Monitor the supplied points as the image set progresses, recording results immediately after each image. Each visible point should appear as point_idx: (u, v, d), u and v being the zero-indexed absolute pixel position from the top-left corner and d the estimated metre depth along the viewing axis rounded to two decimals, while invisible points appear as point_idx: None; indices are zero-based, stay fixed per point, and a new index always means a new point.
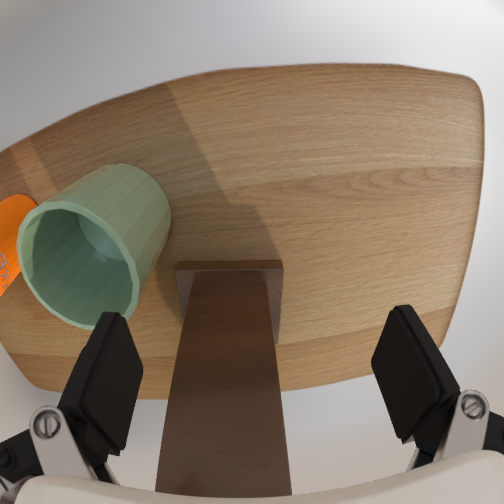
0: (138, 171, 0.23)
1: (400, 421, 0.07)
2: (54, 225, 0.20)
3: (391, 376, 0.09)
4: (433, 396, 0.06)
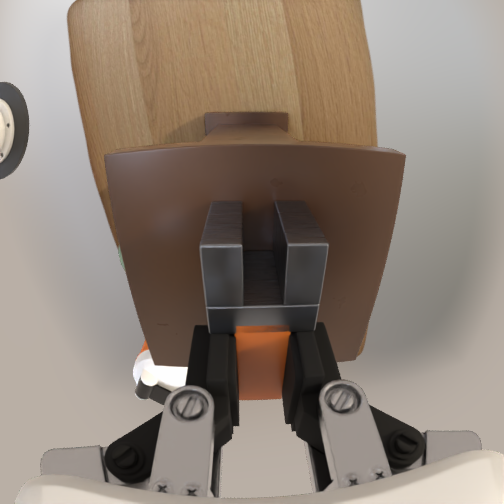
0: None
1: (285, 406, 0.08)
2: None
3: None
4: (294, 379, 0.07)
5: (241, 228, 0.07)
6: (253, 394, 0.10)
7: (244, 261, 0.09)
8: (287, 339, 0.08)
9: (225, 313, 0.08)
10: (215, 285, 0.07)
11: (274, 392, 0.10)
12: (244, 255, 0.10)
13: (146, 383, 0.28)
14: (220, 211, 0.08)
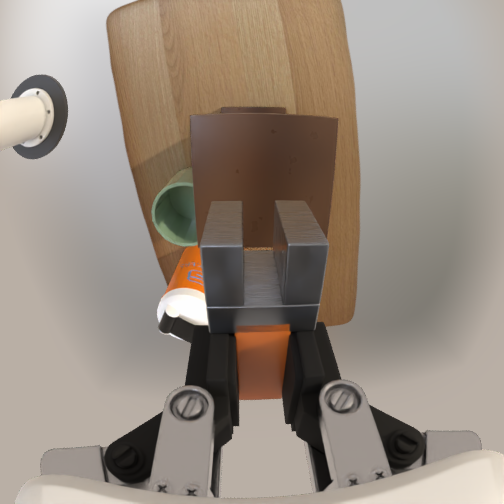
0: None
1: (285, 406, 0.08)
2: (183, 228, 0.48)
3: None
4: (294, 379, 0.07)
5: (241, 228, 0.07)
6: (254, 394, 0.10)
7: (244, 261, 0.09)
8: (287, 339, 0.08)
9: (225, 313, 0.08)
10: (215, 285, 0.07)
11: (275, 392, 0.10)
12: (244, 255, 0.10)
13: (170, 314, 0.38)
14: (220, 211, 0.08)
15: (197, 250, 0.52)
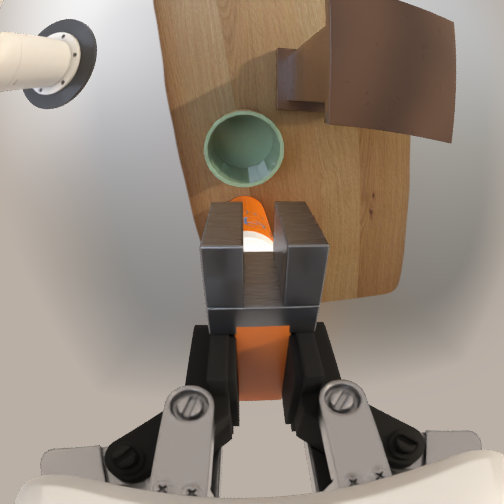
0: None
1: (285, 406, 0.08)
2: (233, 172, 0.42)
3: None
4: (294, 379, 0.07)
5: (241, 229, 0.07)
6: (253, 394, 0.10)
7: (244, 262, 0.09)
8: (287, 340, 0.08)
9: (225, 314, 0.08)
10: (215, 286, 0.07)
11: (274, 393, 0.10)
12: (244, 256, 0.10)
13: None
14: (220, 212, 0.08)
15: (245, 201, 0.45)
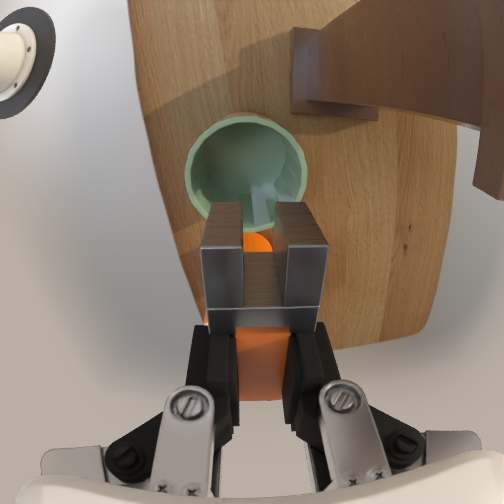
0: None
1: (285, 406, 0.08)
2: None
3: None
4: (294, 379, 0.07)
5: (241, 229, 0.07)
6: (253, 395, 0.10)
7: (244, 262, 0.09)
8: (287, 340, 0.08)
9: (225, 314, 0.08)
10: (215, 286, 0.07)
11: (275, 393, 0.10)
12: (244, 256, 0.10)
13: None
14: (220, 212, 0.08)
15: (248, 242, 0.34)
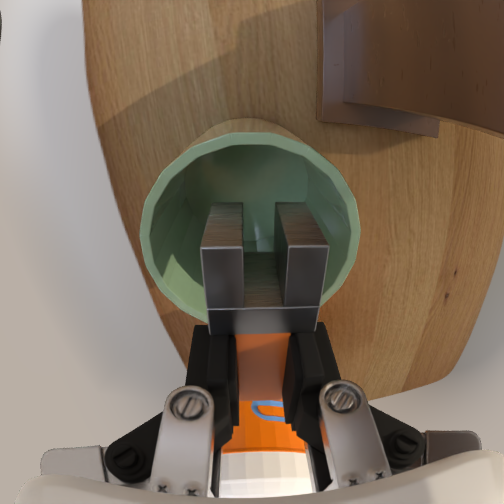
0: None
1: (285, 406, 0.08)
2: None
3: None
4: (294, 379, 0.07)
5: (242, 229, 0.07)
6: (253, 395, 0.10)
7: (244, 262, 0.09)
8: (287, 340, 0.08)
9: (225, 314, 0.08)
10: (216, 286, 0.07)
11: (275, 393, 0.10)
12: (244, 256, 0.10)
13: None
14: (220, 212, 0.08)
15: None
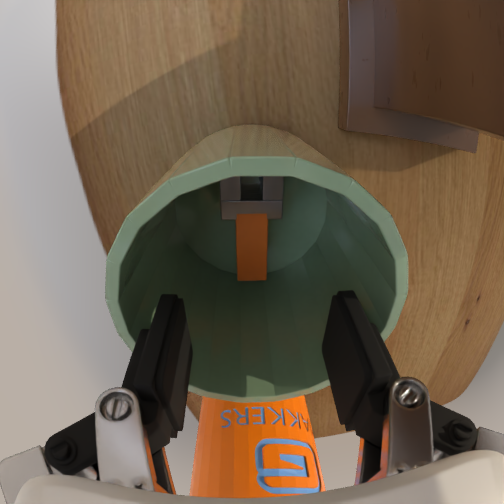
0: None
1: (341, 406, 0.08)
2: (225, 316, 0.15)
3: (334, 361, 0.09)
4: (363, 380, 0.07)
5: None
6: (247, 274, 0.16)
7: (241, 186, 0.16)
8: (266, 224, 0.14)
9: (230, 205, 0.14)
10: (226, 186, 0.13)
11: (261, 273, 0.16)
12: (241, 185, 0.16)
13: None
14: None
15: None
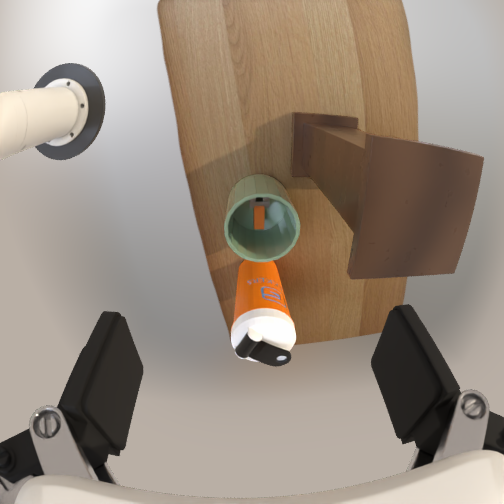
0: (232, 189, 0.45)
1: (400, 421, 0.07)
2: (250, 241, 0.45)
3: (391, 376, 0.09)
4: (433, 396, 0.06)
5: None
6: (257, 226, 0.46)
7: None
8: (264, 209, 0.44)
9: (252, 203, 0.44)
10: None
11: (262, 226, 0.46)
12: None
13: (254, 338, 0.35)
14: None
15: (260, 264, 0.49)
